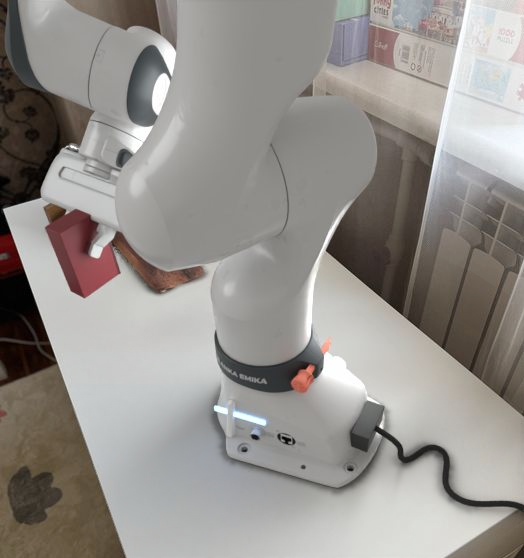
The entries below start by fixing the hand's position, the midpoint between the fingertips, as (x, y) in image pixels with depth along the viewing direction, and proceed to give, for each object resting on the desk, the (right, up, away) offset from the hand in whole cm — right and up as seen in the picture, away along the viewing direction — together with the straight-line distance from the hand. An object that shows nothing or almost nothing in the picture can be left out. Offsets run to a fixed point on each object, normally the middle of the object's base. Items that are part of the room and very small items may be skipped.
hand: (80, 251), depth 75 cm
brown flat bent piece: (+5, +5, +26) cm, 26 cm away
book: (+1, -4, +5) cm, 6 cm away
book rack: (-9, +10, +31) cm, 34 cm away
